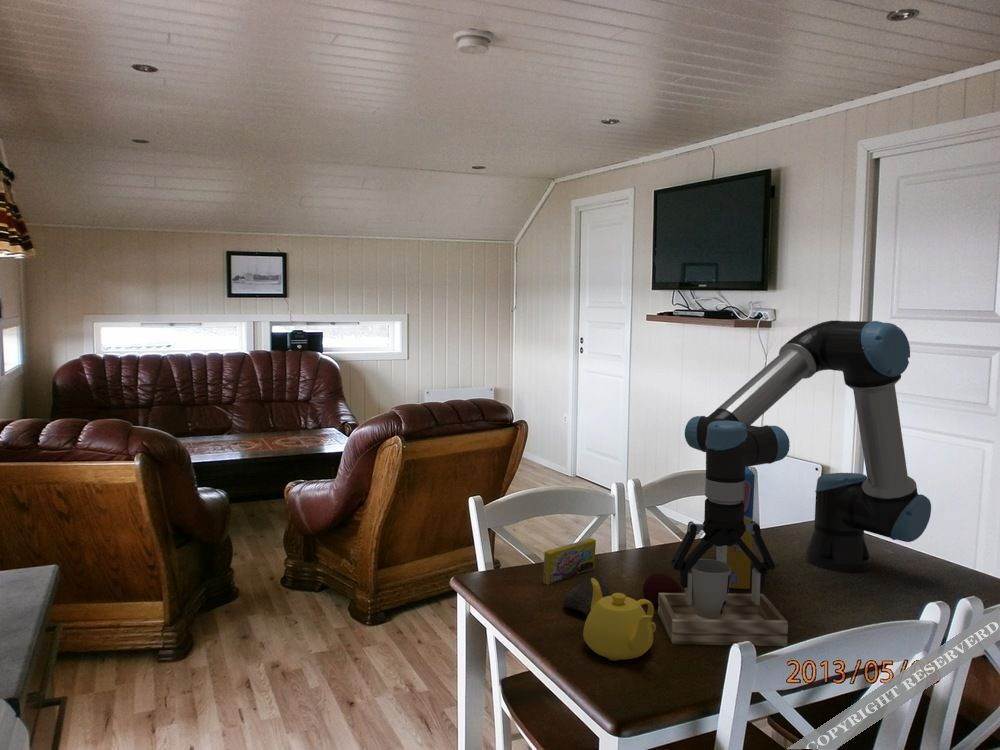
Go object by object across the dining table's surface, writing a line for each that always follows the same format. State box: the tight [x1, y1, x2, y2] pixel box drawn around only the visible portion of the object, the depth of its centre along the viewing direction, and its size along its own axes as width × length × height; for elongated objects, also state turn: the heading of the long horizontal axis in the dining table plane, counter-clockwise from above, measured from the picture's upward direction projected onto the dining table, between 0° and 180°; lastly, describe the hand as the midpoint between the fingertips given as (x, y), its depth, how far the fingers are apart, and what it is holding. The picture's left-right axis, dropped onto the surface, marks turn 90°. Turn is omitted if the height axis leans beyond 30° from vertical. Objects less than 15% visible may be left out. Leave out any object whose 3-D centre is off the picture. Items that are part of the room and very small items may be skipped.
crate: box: [657, 592, 789, 647], centre depth 150 cm, size 22×14×5 cm, turn 89°
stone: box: [563, 578, 612, 618], centre depth 158 cm, size 10×8×10 cm
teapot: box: [582, 577, 657, 662], centre depth 141 cm, size 20×15×12 cm
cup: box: [690, 558, 731, 619], centre depth 150 cm, size 8×8×10 cm
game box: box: [715, 467, 756, 590], centre depth 181 cm, size 21×6×27 cm, turn 170°
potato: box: [642, 572, 683, 606], centre depth 163 cm, size 7×8×7 cm
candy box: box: [542, 537, 597, 586], centre depth 178 cm, size 16×2×8 cm, turn 131°
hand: (721, 602), depth 150 cm, fingers open, 13 cm apart
